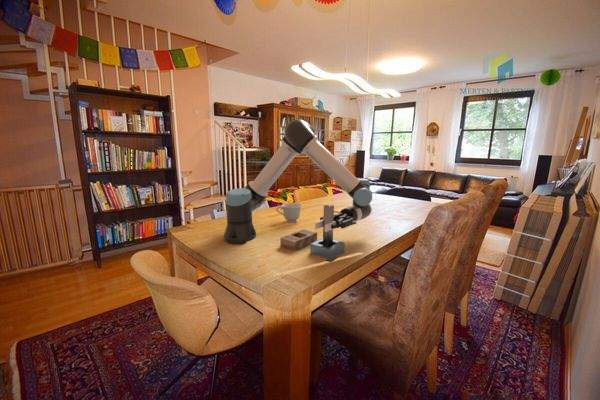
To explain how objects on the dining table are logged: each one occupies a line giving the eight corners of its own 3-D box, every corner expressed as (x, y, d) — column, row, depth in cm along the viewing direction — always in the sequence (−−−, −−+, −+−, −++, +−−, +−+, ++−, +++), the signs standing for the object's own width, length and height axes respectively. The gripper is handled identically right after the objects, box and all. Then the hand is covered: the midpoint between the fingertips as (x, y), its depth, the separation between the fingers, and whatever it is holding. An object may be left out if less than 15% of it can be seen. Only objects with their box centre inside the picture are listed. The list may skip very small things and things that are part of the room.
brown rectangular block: (294, 253, 106) (294, 242, 105) (280, 248, 111) (280, 237, 110) (317, 242, 118) (317, 232, 117) (303, 239, 123) (303, 229, 122)
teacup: (276, 219, 157) (276, 203, 155) (300, 218, 159) (300, 202, 157) (276, 224, 146) (276, 207, 144) (303, 224, 147) (303, 207, 145)
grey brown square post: (326, 251, 102) (327, 207, 99) (320, 248, 106) (321, 205, 102) (334, 249, 104) (335, 206, 101) (328, 246, 108) (329, 204, 104)
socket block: (330, 262, 99) (331, 249, 98) (310, 255, 105) (310, 243, 104) (344, 254, 106) (344, 242, 105) (324, 248, 112) (324, 237, 111)
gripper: (367, 226, 112) (339, 241, 94) (334, 219, 122) (303, 231, 105) (368, 210, 110) (339, 221, 93) (334, 204, 121) (303, 214, 103)
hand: (320, 227), depth 99 cm, fingers closed on grey brown square post, 4 cm apart
